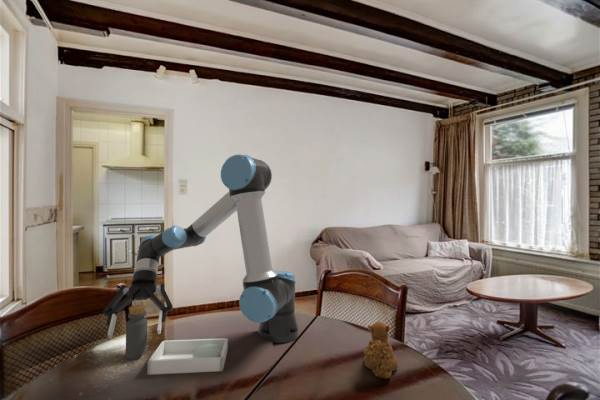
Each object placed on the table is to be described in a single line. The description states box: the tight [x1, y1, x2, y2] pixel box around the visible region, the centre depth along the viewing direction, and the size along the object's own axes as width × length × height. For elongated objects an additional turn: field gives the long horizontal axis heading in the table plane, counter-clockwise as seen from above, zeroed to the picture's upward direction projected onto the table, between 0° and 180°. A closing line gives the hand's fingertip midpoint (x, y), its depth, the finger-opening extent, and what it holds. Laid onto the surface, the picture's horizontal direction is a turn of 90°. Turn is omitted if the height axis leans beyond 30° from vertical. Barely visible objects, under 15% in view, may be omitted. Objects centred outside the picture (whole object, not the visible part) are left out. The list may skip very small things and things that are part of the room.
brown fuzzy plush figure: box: [363, 321, 399, 380], centre depth 90 cm, size 10×14×13 cm
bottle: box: [125, 304, 148, 361], centre depth 96 cm, size 6×6×15 cm
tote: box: [146, 337, 229, 376], centre depth 91 cm, size 20×13×4 cm, turn 97°
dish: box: [192, 344, 221, 358], centre depth 92 cm, size 8×8×3 cm
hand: (134, 334), depth 95 cm, fingers open, 13 cm apart
